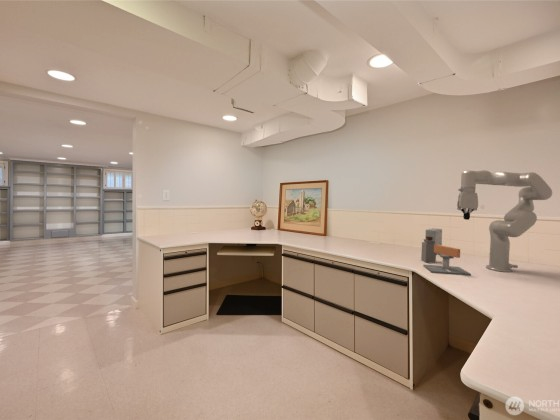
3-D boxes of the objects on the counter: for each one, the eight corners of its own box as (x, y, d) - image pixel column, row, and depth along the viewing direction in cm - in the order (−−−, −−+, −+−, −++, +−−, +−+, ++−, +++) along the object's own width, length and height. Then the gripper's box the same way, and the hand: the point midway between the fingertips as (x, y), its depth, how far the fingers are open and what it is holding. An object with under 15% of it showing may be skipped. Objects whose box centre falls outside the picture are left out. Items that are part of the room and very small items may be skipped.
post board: (458, 268, 167) (459, 256, 167) (470, 275, 152) (471, 262, 151) (423, 266, 172) (423, 254, 171) (431, 272, 156) (432, 259, 156)
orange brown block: (431, 254, 168) (431, 244, 168) (438, 254, 170) (439, 244, 170) (454, 260, 153) (454, 249, 152) (462, 259, 155) (462, 249, 154)
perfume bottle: (431, 260, 187) (432, 236, 186) (435, 263, 181) (436, 237, 180) (421, 260, 188) (422, 235, 187) (425, 262, 181) (426, 237, 180)
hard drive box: (431, 251, 222) (432, 228, 221) (441, 252, 216) (442, 229, 215) (424, 253, 212) (425, 229, 211) (434, 255, 206) (435, 230, 205)
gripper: (457, 190, 161) (455, 219, 162) (484, 190, 157) (483, 220, 158) (452, 190, 168) (450, 218, 169) (478, 190, 165) (476, 219, 166)
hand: (466, 219), depth 164 cm, fingers closed
